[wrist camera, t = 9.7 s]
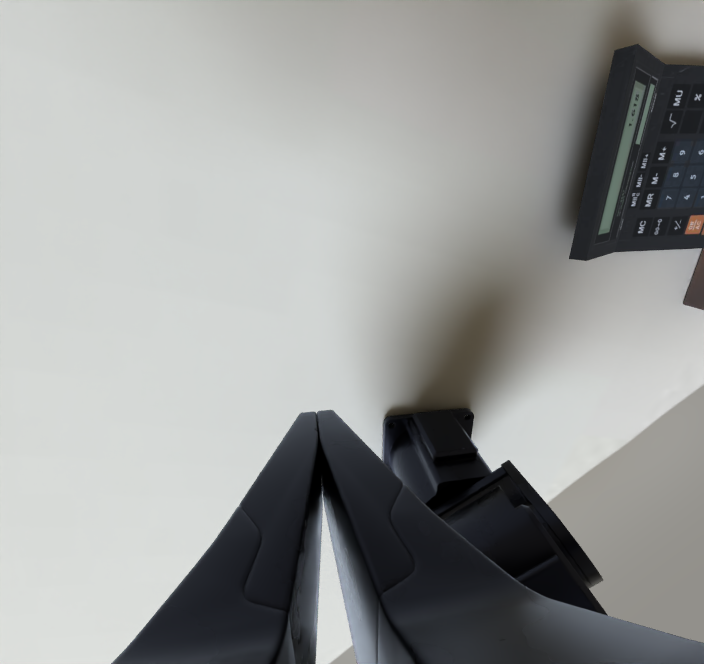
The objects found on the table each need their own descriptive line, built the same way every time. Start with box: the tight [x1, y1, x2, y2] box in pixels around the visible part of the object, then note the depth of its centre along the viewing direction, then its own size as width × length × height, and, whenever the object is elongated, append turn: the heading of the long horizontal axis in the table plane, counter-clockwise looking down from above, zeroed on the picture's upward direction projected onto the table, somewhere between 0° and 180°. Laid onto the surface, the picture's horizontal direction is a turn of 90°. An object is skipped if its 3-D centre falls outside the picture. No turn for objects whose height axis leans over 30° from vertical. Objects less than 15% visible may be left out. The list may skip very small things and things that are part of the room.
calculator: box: [569, 44, 704, 261], centre depth 19 cm, size 9×12×3 cm
